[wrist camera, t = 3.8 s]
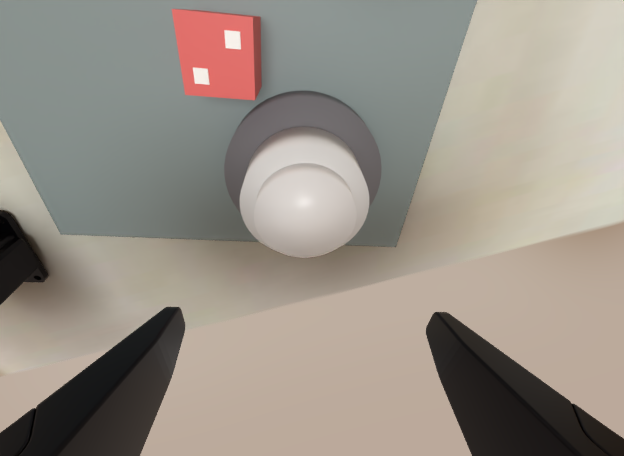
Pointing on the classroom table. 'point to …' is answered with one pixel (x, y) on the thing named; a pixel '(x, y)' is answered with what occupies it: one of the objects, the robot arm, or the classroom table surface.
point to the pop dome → (304, 193)
